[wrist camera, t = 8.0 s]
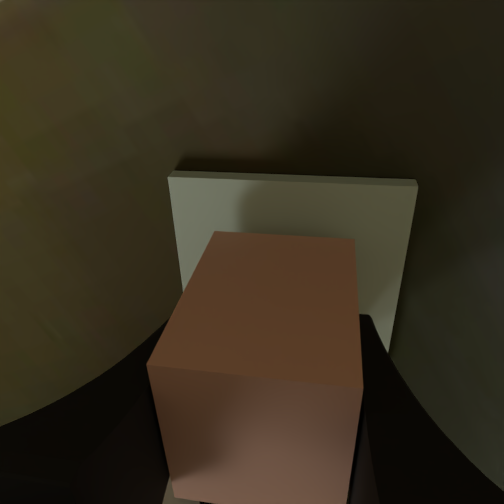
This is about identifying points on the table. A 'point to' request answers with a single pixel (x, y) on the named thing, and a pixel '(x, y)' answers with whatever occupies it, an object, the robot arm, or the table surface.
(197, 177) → the mat
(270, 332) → the block
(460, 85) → the table surface
